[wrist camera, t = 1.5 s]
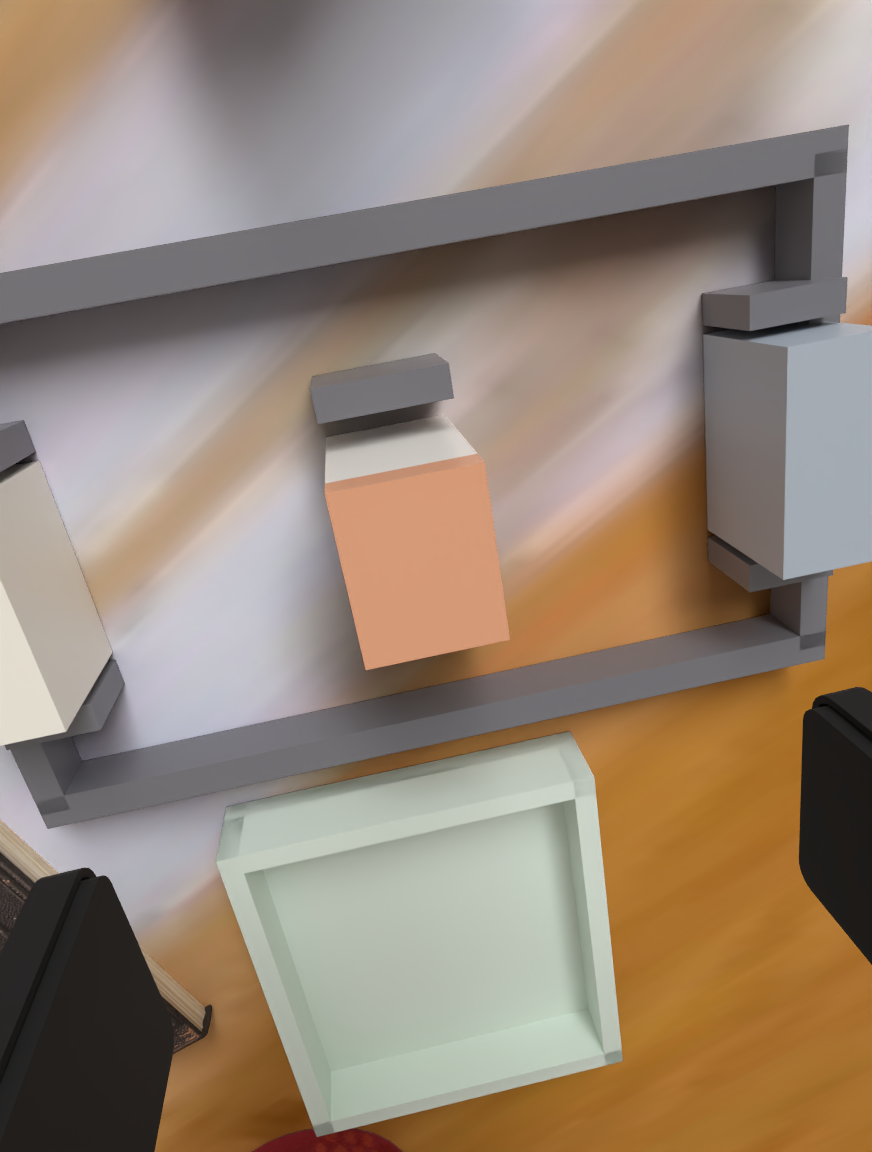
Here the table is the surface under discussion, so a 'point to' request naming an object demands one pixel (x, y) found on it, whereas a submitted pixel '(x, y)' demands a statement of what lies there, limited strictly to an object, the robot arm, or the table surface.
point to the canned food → (330, 1142)
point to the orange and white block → (415, 540)
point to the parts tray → (430, 929)
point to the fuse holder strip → (731, 388)
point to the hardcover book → (10, 870)
